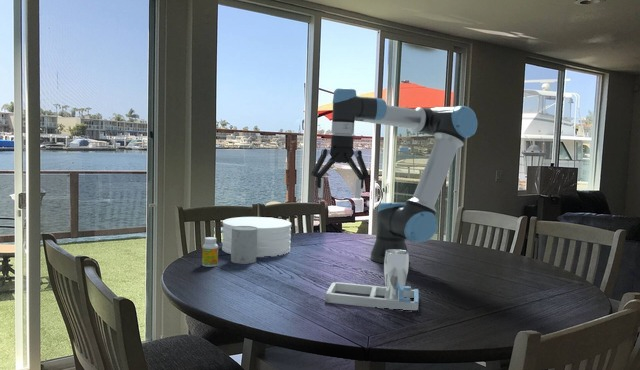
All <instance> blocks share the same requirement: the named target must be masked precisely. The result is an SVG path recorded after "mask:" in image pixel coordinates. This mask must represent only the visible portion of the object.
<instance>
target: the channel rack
mask: <svg viewBox="0 0 640 370" xmlns="http://www.w3.org/2000/svg"><path fill="white" fill-rule="evenodd" d="M385 291H386V286H378V285H371V284H370V285H368V284H358V283H350V282H339V281H332V283H331V284H330V286H329V287H328V289H327V291H326V292H325V296H324V297H325V298H324V299H325V300H324V303H329V304H330V303H331V304H339V305H346V306H347V305H348V306H355V307H358V306H359V307H367V308H375V307H377V308H376V309H384V308H389V309H388V310H393V309H403V310H418V311H419V304H418V303H414V300H413V301H412V300H410V303H409V302H399V300H394V299H385V298H383V297H384V296H385ZM336 292H340V293H336ZM341 292H342V293H341ZM344 293H348V294H344ZM349 293H353V294H349ZM354 294H360V295H354ZM361 294H362V295H363V296H362V295H361ZM364 295H365V296H364ZM366 295H369V296H366ZM377 296H378V297H377ZM379 296H380V297H379ZM404 297H407V298H414V289H411V291H408V290H404ZM403 310H402V311H403Z"/></svg>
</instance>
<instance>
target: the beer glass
mask: <svg viewBox="0 0 640 370" xmlns="http://www.w3.org/2000/svg"><path fill="white" fill-rule="evenodd" d="M409 253H410V252H409V251H408V252H407V251H404V250H398V249H389V250H386V254H385V261H384V263H383V273H384V283H385V287H386V291H385V296H383V297H384V298H385V299H394V300H399V297H404V287H405V286H406V283H407V277H408V273H409V265H410V264H409V263H410V256H409V257H408V254H409ZM409 255H410V254H409Z"/></svg>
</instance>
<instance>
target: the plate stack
mask: <svg viewBox="0 0 640 370" xmlns="http://www.w3.org/2000/svg"><path fill="white" fill-rule="evenodd" d="M235 226H253V227H257V228H258V229H257V254H256V258H265V257H264V256H271V257H278V256H277V255H279V256H283V254H284V255H287V254H289V253H291V239H292V235H291V234H292V229H291V227H292V222H290V220H286V219H281V218H276V217H265V216H264V217H262V216H240V217H231V218H226V219H224V220H223V221H222V236H221V237H222V240H221V244H222V245H221V250H222V251H223V252H224V253H226V254H230V255H231V243H232V227H235ZM288 252H289V253H288ZM286 253H287V254H286Z"/></svg>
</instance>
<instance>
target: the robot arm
mask: <svg viewBox="0 0 640 370" xmlns="http://www.w3.org/2000/svg"><path fill="white" fill-rule="evenodd" d="M331 115H332V119H331V120H332V121H331V134H332V136H330V137H331V138H330V149H327V148H322V149H321V151H320V156H319V158H318V159H317V161H316V163H315V165H314V168H312V171H311V173H310V175H311V176H312V177H314V178H315V179H316V182H315V187H316V188H317V189H318V190H317V191H318V192H317V197H318V198H319V199H324V178H323V177H324V175H325V174H326V173H327V172H328V171H329V170H330V168H331V167H332V166H333V165H334V164H348V165H349V167H350V169H351V170H352V171H353V172H354V174H355V176H357V178H355V193H354V194H355V195H354V198H355V199H358V200H359V199H361V194H362V193H361V192H362V189H363V188H364V180H365V179H367V178H368V179H369V177H370V174H369V172H368V169H367V166H366V163H365V161H364V159H363V155H362V153H363V152H362V151H363V150H358V149H357V150H354V139H355V137H354V136H353V135H354V134H355V122H363V123H370V124H378V125H385V126H390V127H398V128H405V129H411V130H412V132H415V133H422V134H425V135H430V136H433V137H434V138H435V142H434V144H433V147H432V149H431V152H430V155H429V157H428V159H427V162H426V164H425V166H424V169H423V171H422V173H421V175H420V179H419V181H418V184H417V186H416V188H415V191H414V193H413V195H412V197H411V198H409V199H407V200H406V202H381V203H379V204H378V206H377V211H376V216H377V217H376V232H375V233H376V234H375V235H376V236H375V242H374V244H373V246H372V249H371V251H370V260H371V261H373V262H376V263H379V264H384V261H385V254H386V250H389V249H398V250H404V251H407V252H408V253H409V251H408V247H407V243H406V240H408V241H410V242H414V243H425V242H427V241H429V240H431V239H432V238H433V237H434V236H435V234H436V232H437V229H438V223H437V222H438V220H437V217H436V215H437V210H436V207H435V206H436V203H437V200H438V197H439V195H440V193H441V191H442V189H443V188H442V187H443V186H444V183H445V180H446V178H447V175H448V174H449V171H450V168H451V166H452V163H453V161H454V158H455V155H456V153H457V152H458V149H459V148H461V147H464V145H465V142H466V140H467V139H468V138H470V137H472V136H474V135H475V133H476V132H477V128H478V118H477V115H476V113H475V111H474V110H473V109H472V108H471V107H469V106H466V105H455V106H439V107H429V108H428V107H426V108H424V107H416V108H409V107H408V108H407V107H402V106H396V105H389V104H387V102H386V101H385V100H384V99H383V98H381V97H380V98H378V97H370V96H369V97H368V96H358V95H357V91H356V89H354V88H347V87H345V88H344V87H343V88H342V87H340V88H336V89H335V90H334V91H333V98H332V114H331ZM329 155H330V156H331V157H330V158H329V159H328V161H327V162H326V163H325V165H324V166H323V164H324V162H325V160H326V158H327V156H329ZM353 156H354V157H355V158H356V162H357V164H358V165H359V167H358V166H357V164H356V163H355V161H354V159H353ZM322 166H323V167H322ZM359 168H360V169H359ZM408 257H409V258H410V254H408Z"/></svg>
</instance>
